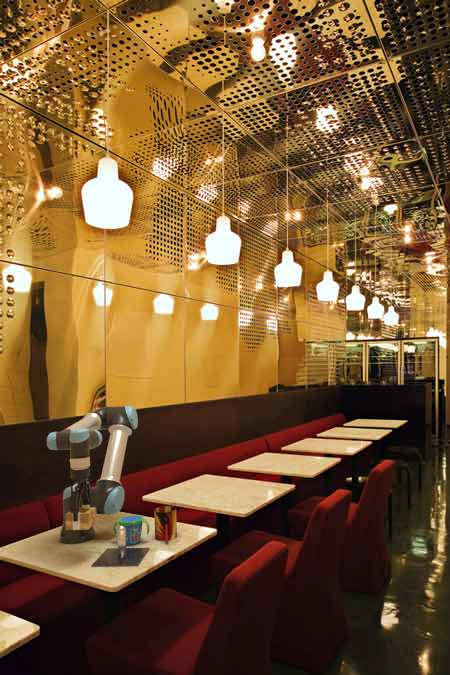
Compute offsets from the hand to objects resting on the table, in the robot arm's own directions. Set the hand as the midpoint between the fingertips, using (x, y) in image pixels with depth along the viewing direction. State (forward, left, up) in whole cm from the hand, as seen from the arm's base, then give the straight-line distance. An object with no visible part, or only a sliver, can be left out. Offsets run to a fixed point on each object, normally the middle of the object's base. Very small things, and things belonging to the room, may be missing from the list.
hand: (81, 525), depth 187 cm
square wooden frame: (0, 0, 0) cm, 0 cm away
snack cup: (-18, +15, -13) cm, 27 cm away
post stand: (-1, +16, -13) cm, 21 cm away
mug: (-22, +30, -13) cm, 40 cm away
